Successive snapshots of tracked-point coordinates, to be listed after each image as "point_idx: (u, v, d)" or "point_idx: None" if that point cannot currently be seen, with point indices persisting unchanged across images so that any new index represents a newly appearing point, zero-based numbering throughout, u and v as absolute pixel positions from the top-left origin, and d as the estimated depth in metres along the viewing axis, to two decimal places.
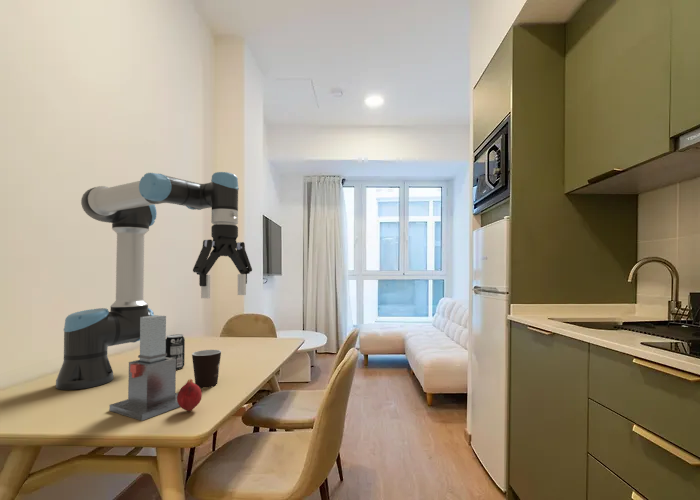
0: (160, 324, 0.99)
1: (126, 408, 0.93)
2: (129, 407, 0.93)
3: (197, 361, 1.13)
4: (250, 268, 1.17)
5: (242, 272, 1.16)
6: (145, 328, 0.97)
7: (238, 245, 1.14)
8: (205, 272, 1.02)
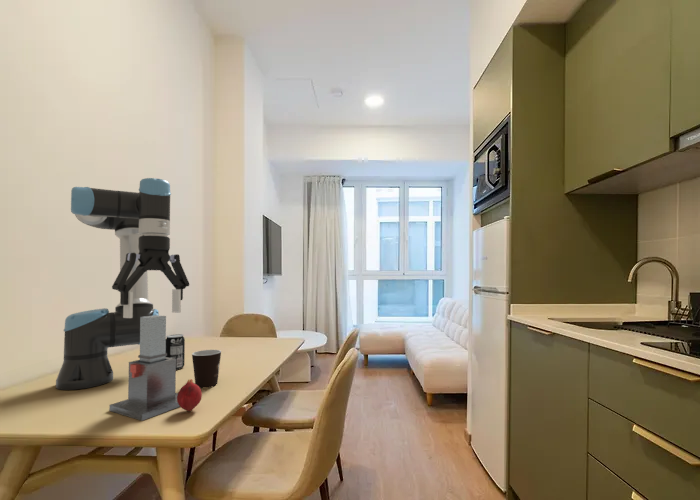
0: (160, 324, 0.99)
1: (126, 408, 0.93)
2: (129, 407, 0.93)
3: (197, 361, 1.13)
4: (187, 282, 1.07)
5: (177, 287, 1.06)
6: (145, 328, 0.97)
7: (172, 258, 1.04)
8: (126, 289, 0.92)
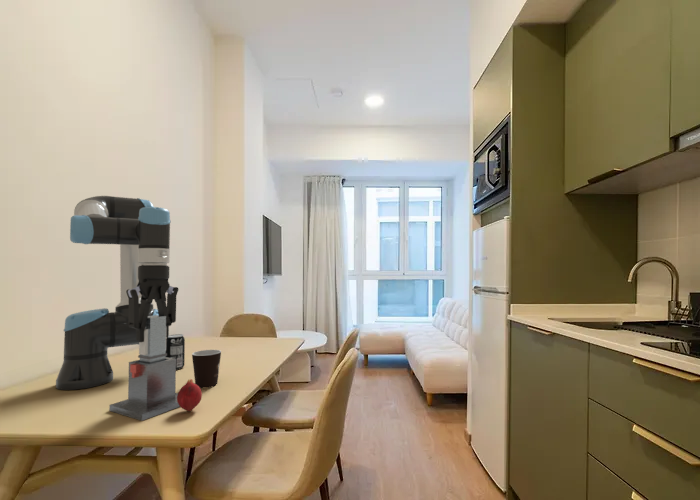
0: (160, 324, 0.99)
1: (126, 408, 0.93)
2: (129, 407, 0.93)
3: (197, 361, 1.13)
4: (174, 318, 1.03)
5: None
6: (145, 328, 0.97)
7: (170, 289, 1.04)
8: (142, 327, 0.95)
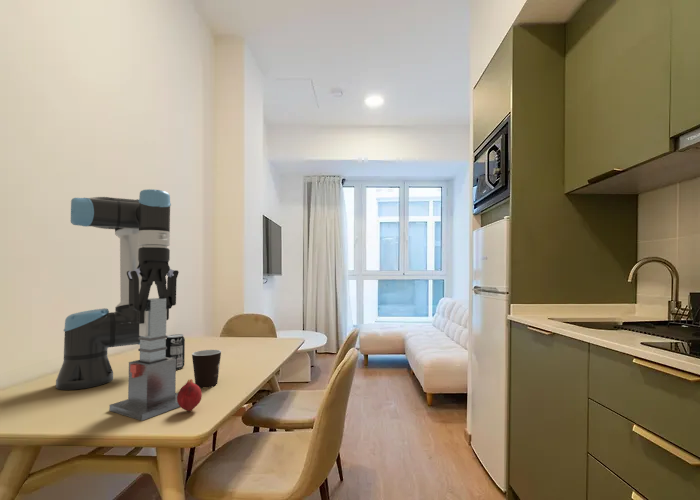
0: (160, 306, 0.99)
1: (126, 408, 0.93)
2: (129, 407, 0.93)
3: (197, 361, 1.13)
4: (174, 301, 1.03)
5: None
6: (146, 309, 0.97)
7: (170, 272, 1.04)
8: (142, 309, 0.96)
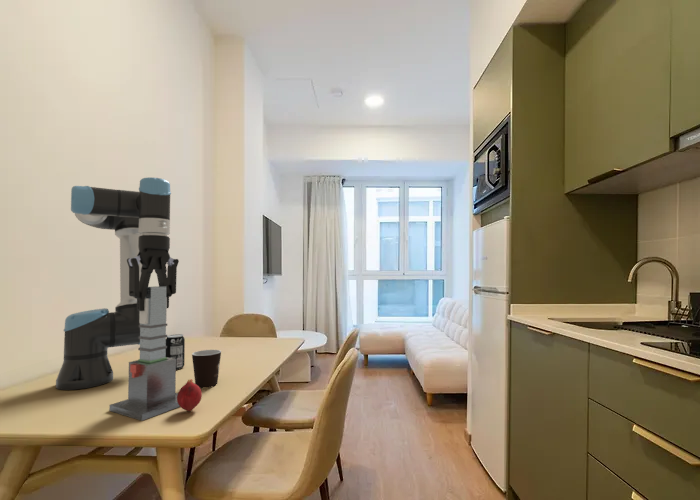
0: (160, 294, 0.99)
1: (126, 408, 0.93)
2: (129, 407, 0.93)
3: (197, 361, 1.13)
4: (174, 290, 1.04)
5: None
6: (146, 297, 0.97)
7: (171, 260, 1.04)
8: (143, 296, 0.96)
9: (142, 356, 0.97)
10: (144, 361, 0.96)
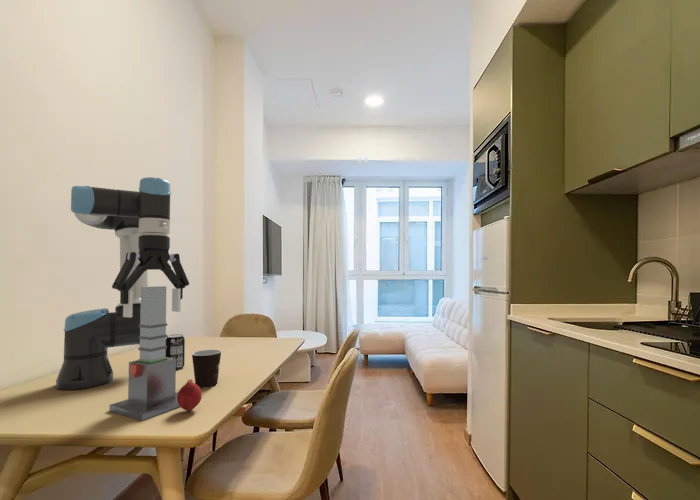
0: (160, 294, 0.99)
1: (126, 408, 0.93)
2: (129, 407, 0.93)
3: (197, 361, 1.13)
4: (186, 282, 1.07)
5: (177, 286, 1.06)
6: (146, 297, 0.97)
7: (171, 257, 1.04)
8: (126, 288, 0.92)
9: (142, 356, 0.97)
10: (144, 361, 0.96)
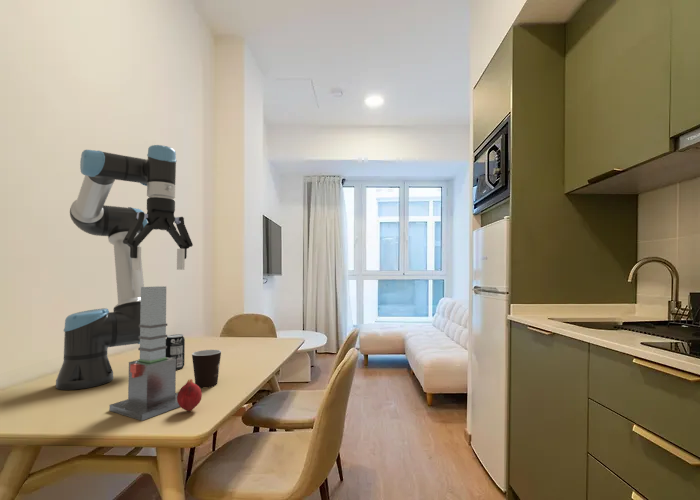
0: (160, 294, 0.99)
1: (126, 408, 0.93)
2: (129, 407, 0.93)
3: (197, 361, 1.13)
4: (190, 243, 1.17)
5: (181, 247, 1.16)
6: (146, 297, 0.97)
7: (177, 219, 1.14)
8: (135, 244, 1.02)
9: (142, 356, 0.97)
10: (144, 361, 0.96)
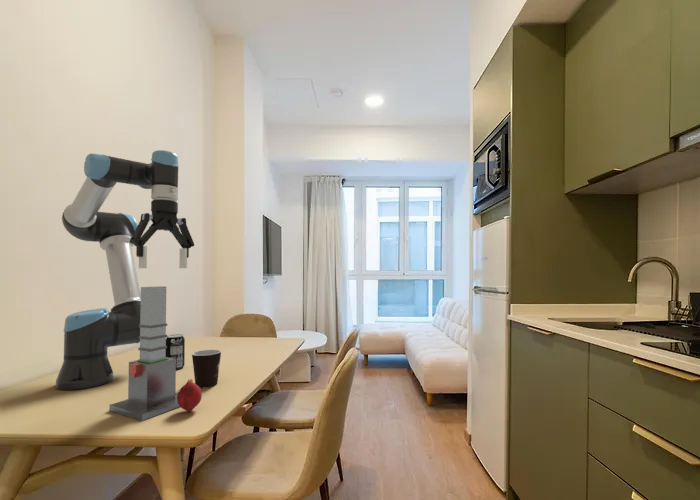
0: (160, 294, 0.99)
1: (126, 408, 0.93)
2: (129, 407, 0.93)
3: (197, 361, 1.13)
4: (192, 243, 1.23)
5: (184, 246, 1.22)
6: (146, 297, 0.97)
7: (179, 221, 1.20)
8: (141, 243, 1.08)
9: (142, 356, 0.97)
10: (144, 361, 0.96)
